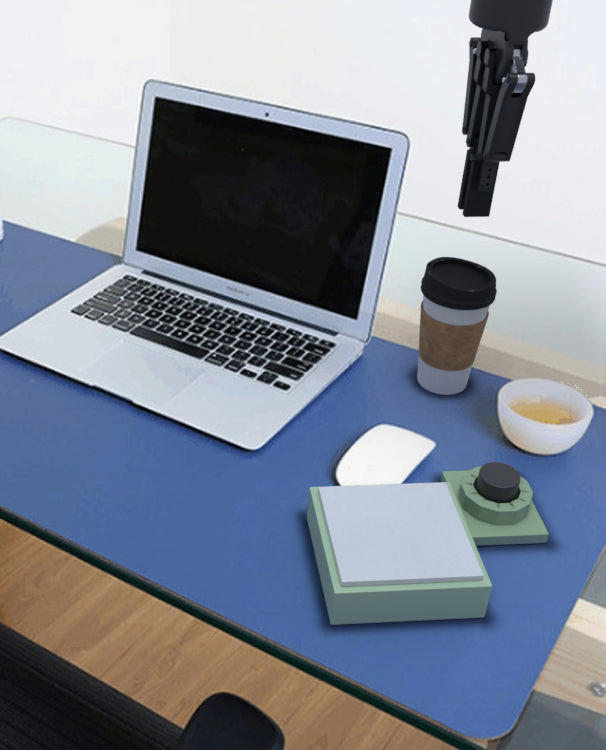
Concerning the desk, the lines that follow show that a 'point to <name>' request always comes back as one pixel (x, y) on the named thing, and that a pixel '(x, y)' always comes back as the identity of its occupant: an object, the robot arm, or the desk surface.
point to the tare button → (498, 482)
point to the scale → (395, 554)
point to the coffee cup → (452, 322)
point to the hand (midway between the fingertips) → (473, 211)
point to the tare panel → (496, 512)
